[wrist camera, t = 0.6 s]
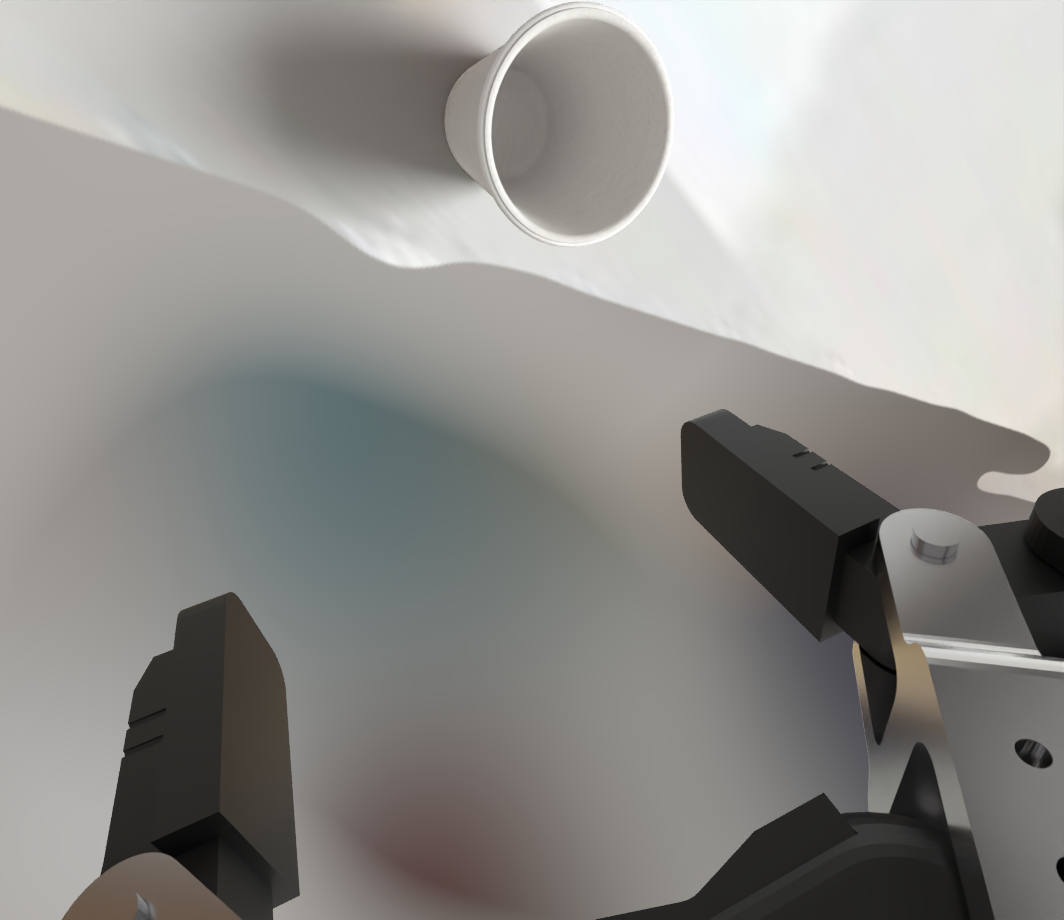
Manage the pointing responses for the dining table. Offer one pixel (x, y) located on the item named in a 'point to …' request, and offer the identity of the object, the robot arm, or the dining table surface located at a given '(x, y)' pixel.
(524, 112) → the dixie cup
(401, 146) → the dining table surface
